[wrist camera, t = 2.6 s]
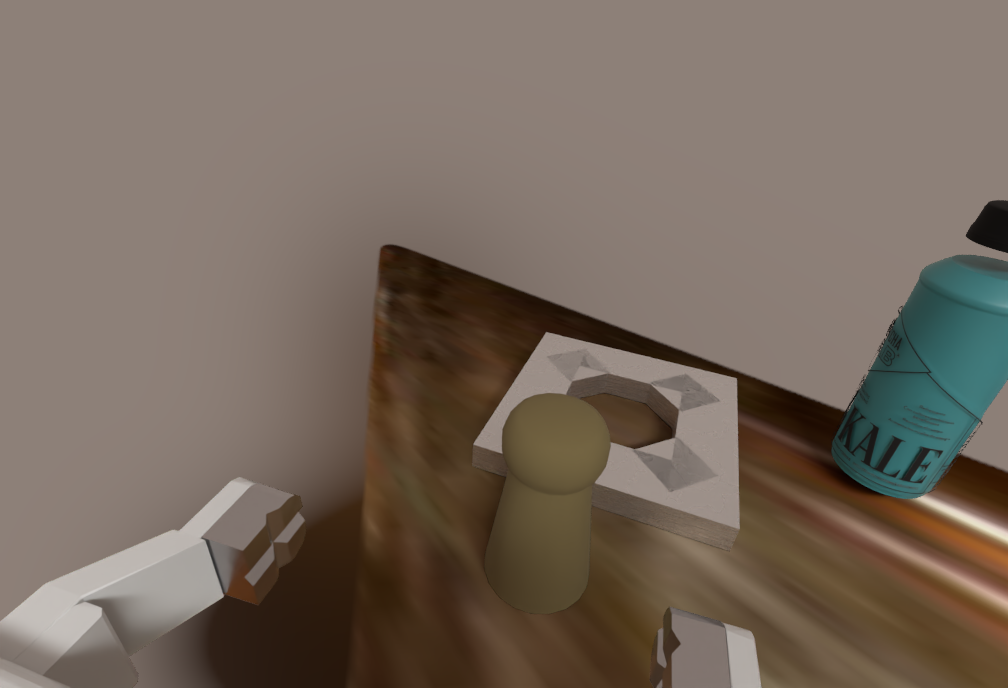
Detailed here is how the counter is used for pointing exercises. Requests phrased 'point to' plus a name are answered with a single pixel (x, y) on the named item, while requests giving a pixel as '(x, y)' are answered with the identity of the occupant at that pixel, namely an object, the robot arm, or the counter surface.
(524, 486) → the olive peg doll
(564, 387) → the jig plate
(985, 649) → the counter surface
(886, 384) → the beverage bottle
